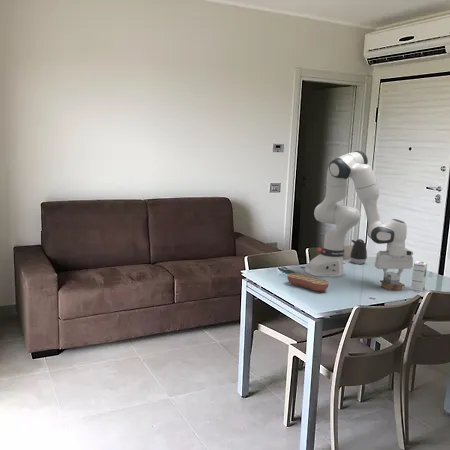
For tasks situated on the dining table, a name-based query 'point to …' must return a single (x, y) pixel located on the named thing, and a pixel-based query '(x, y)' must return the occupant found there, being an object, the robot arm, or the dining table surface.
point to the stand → (391, 286)
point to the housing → (392, 278)
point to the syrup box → (419, 276)
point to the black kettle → (358, 252)
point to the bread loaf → (308, 282)
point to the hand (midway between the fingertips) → (392, 276)
